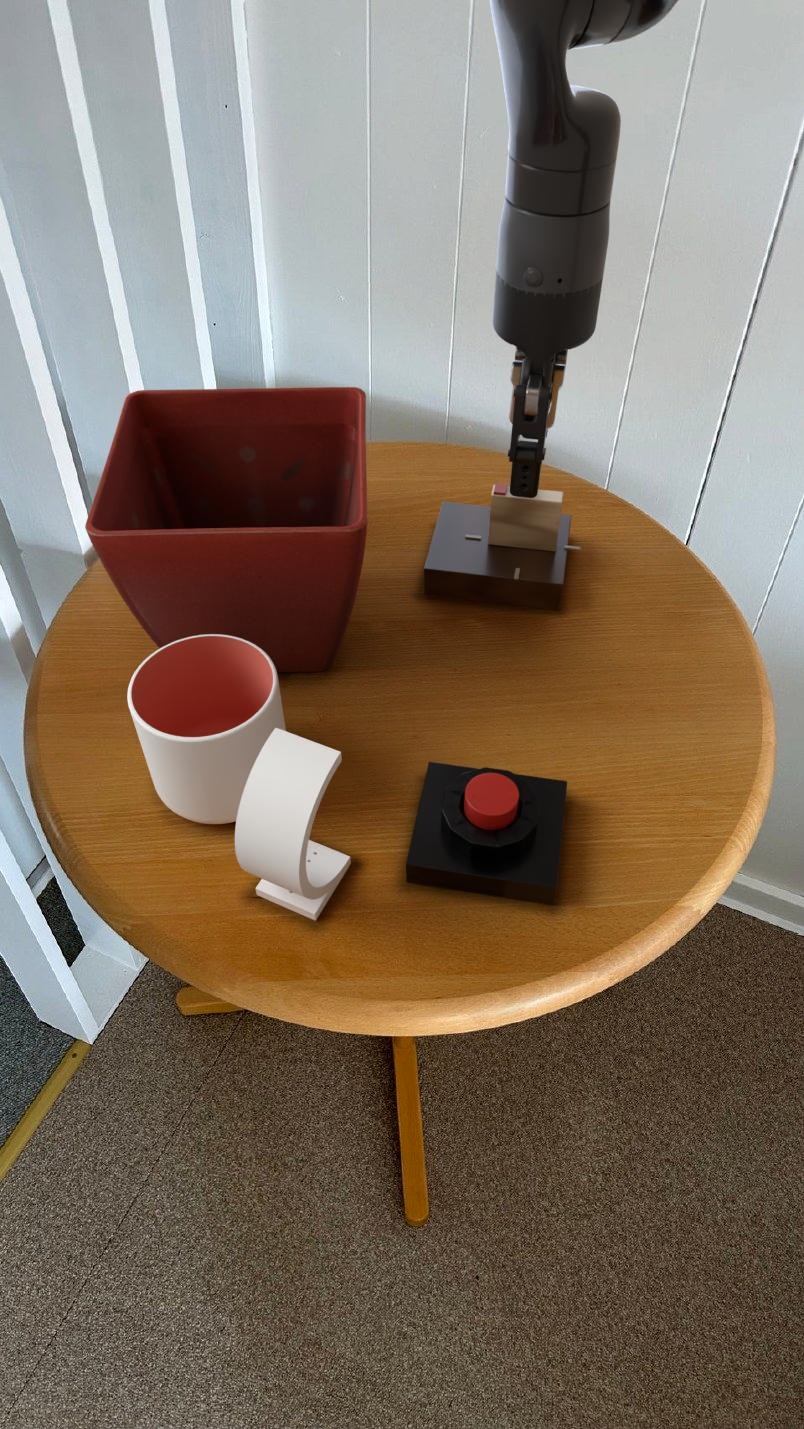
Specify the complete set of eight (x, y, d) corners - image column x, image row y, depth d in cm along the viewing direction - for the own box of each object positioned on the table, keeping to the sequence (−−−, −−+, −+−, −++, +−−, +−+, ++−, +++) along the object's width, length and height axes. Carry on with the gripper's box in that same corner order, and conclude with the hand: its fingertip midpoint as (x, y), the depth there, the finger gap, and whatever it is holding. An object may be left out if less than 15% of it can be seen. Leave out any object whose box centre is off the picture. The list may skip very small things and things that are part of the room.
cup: (285, 832, 69) (269, 741, 61) (144, 832, 69) (112, 740, 61) (297, 727, 75) (284, 633, 68) (169, 726, 75) (142, 632, 68)
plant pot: (372, 550, 90) (366, 382, 78) (375, 699, 77) (367, 527, 65) (167, 555, 90) (127, 388, 77) (135, 706, 77) (80, 535, 64)
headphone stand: (351, 863, 67) (341, 752, 58) (307, 933, 63) (290, 826, 54) (293, 839, 68) (275, 727, 59) (248, 906, 65) (221, 798, 56)
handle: (557, 540, 86) (564, 489, 82) (555, 552, 85) (562, 500, 81) (489, 533, 87) (493, 482, 83) (487, 544, 86) (491, 492, 82)
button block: (563, 799, 70) (570, 764, 67) (553, 905, 64) (560, 872, 61) (428, 780, 72) (429, 745, 69) (405, 882, 66) (405, 848, 63)
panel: (579, 541, 91) (584, 513, 88) (571, 613, 84) (576, 585, 82) (441, 526, 92) (442, 499, 90) (423, 595, 86) (423, 567, 83)
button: (520, 792, 66) (522, 776, 65) (514, 834, 64) (516, 819, 63) (467, 784, 67) (469, 768, 66) (460, 826, 64) (461, 810, 63)
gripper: (598, 316, 63) (568, 521, 75) (609, 228, 72) (580, 423, 84) (483, 307, 63) (471, 511, 76) (508, 221, 73) (494, 415, 85)
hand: (528, 464), depth 80 cm, fingers open, 8 cm apart
